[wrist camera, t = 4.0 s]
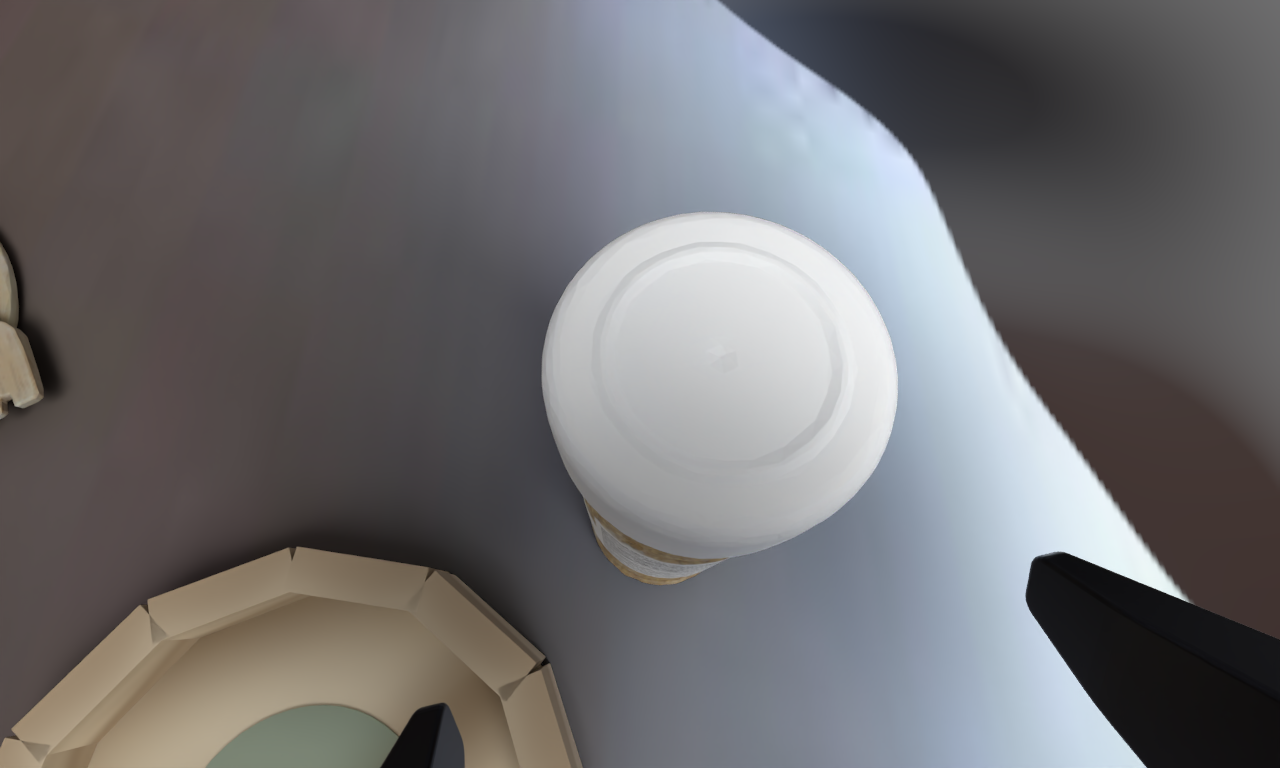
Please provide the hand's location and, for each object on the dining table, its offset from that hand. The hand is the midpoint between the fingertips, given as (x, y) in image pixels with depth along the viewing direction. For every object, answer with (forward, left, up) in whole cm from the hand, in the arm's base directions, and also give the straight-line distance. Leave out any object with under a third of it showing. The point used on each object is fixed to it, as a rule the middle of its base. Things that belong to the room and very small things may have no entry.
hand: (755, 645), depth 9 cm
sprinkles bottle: (+3, -2, -11) cm, 11 cm away
